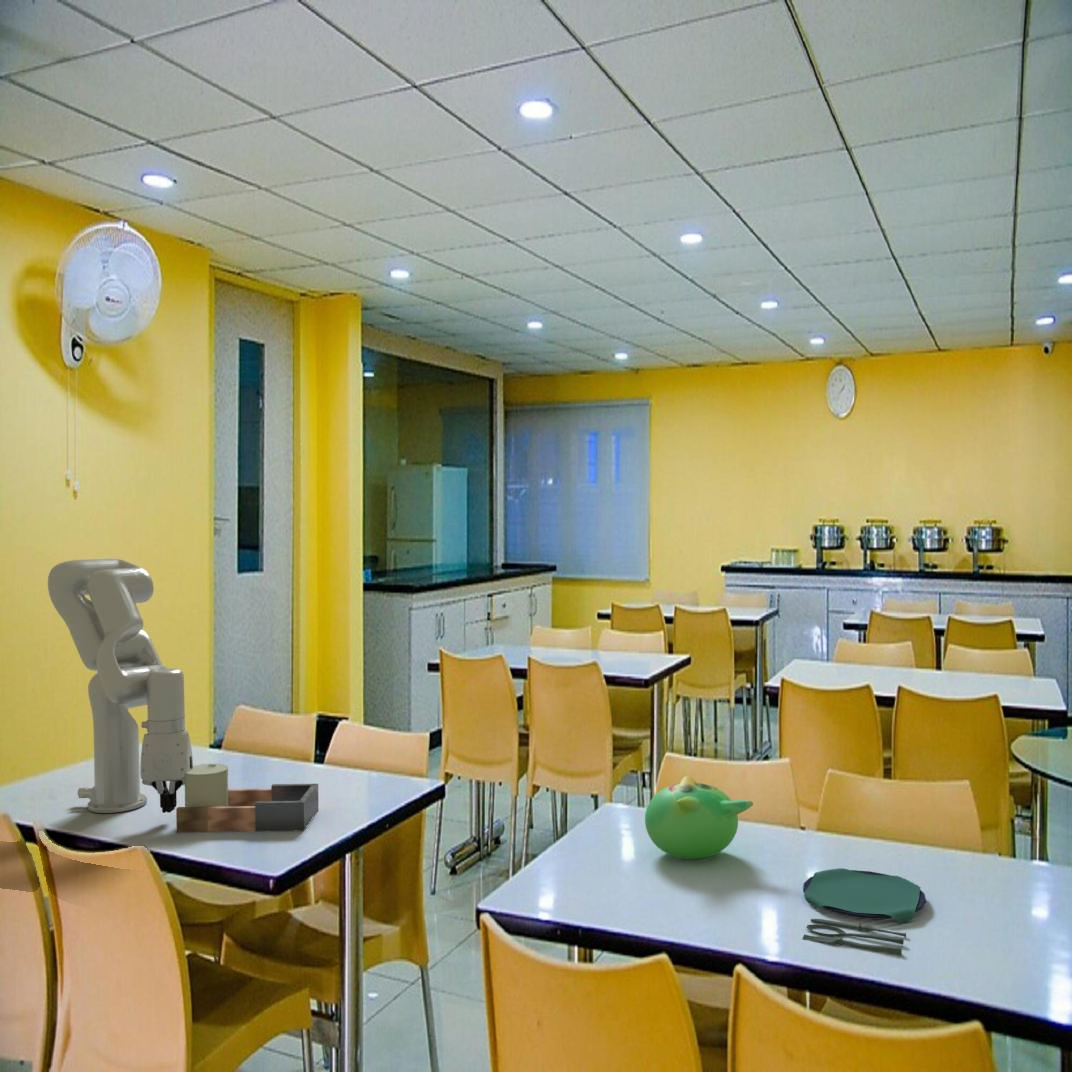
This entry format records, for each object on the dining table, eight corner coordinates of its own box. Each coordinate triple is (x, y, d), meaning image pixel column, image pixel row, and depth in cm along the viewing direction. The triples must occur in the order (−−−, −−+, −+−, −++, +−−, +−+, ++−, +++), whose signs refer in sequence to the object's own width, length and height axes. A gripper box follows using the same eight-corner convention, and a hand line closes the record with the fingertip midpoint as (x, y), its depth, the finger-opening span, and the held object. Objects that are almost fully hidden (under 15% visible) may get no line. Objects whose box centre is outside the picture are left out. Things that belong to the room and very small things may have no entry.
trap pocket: (255, 831, 202) (255, 803, 202) (273, 810, 217) (272, 784, 217) (304, 830, 202) (303, 802, 202) (318, 810, 217) (318, 783, 217)
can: (236, 815, 213) (235, 761, 213) (218, 828, 204) (217, 772, 204) (196, 814, 214) (195, 761, 214) (176, 827, 205) (175, 771, 205)
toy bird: (710, 837, 197) (710, 765, 196) (757, 864, 181) (757, 786, 181) (631, 848, 190) (630, 774, 190) (673, 878, 174) (673, 797, 174)
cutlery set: (930, 890, 168) (930, 877, 168) (915, 964, 141) (914, 949, 141) (814, 874, 177) (814, 861, 177) (778, 941, 150) (778, 926, 150)
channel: (176, 832, 202) (176, 808, 202) (199, 811, 216) (199, 789, 216) (255, 831, 202) (255, 807, 202) (273, 810, 217) (272, 788, 217)
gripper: (124, 730, 205) (126, 816, 205) (195, 729, 205) (197, 815, 205) (138, 723, 212) (140, 806, 213) (206, 722, 213) (208, 805, 213)
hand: (168, 810), depth 209 cm, fingers closed
